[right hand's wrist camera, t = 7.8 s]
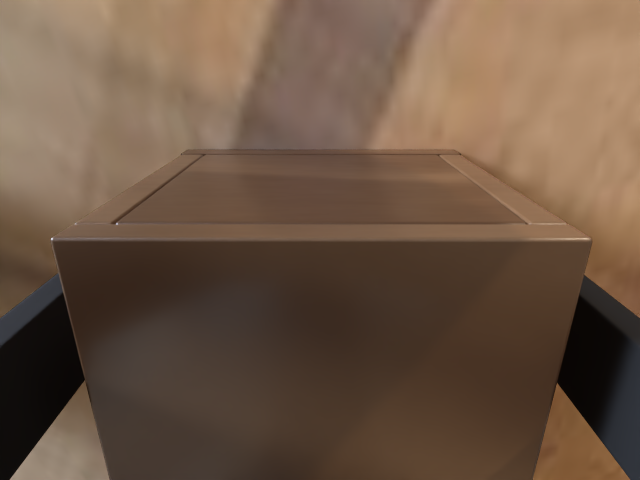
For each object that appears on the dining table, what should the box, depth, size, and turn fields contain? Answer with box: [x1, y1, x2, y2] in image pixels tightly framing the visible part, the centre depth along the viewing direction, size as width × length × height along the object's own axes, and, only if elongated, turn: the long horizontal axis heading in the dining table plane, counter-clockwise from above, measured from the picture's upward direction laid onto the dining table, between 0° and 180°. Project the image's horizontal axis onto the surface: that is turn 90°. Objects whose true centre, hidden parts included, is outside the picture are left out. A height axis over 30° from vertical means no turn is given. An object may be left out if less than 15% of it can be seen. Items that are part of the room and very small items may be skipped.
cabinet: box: [51, 150, 592, 480], centre depth 15 cm, size 17×10×9 cm, turn 0°
